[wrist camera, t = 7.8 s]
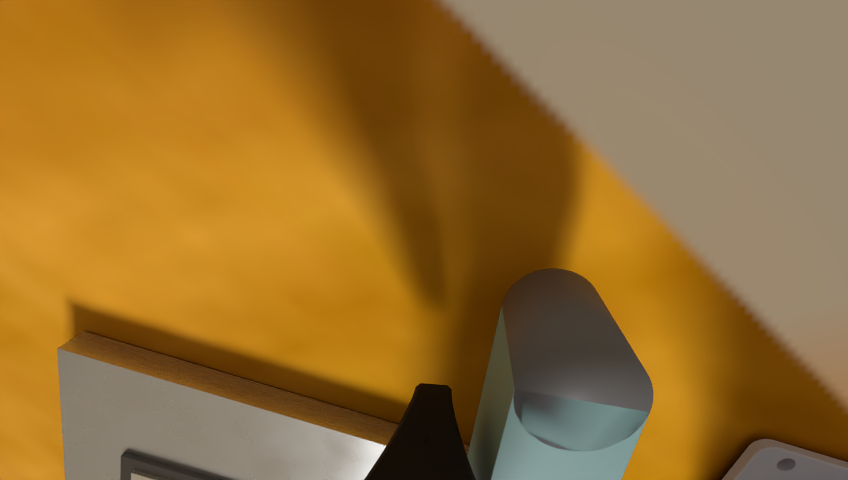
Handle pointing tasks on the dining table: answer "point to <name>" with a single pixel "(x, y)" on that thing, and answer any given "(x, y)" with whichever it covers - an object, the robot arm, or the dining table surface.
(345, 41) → the dining table surface
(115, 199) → the dining table surface
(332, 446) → the panel
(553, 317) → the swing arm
